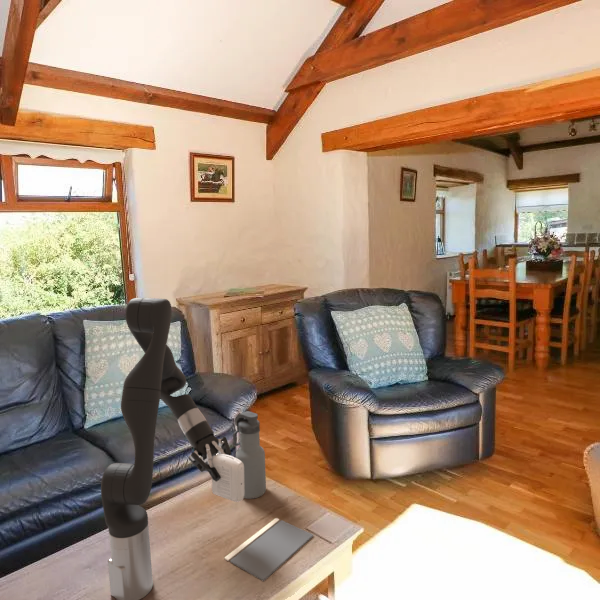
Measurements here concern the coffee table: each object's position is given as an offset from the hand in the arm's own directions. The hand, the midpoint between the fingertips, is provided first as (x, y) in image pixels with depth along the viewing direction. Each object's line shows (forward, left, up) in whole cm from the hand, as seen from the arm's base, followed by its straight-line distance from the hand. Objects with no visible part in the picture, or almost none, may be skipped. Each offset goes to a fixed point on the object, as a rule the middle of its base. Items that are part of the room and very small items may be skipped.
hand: (224, 475), depth 140 cm
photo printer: (0, -1, -6) cm, 6 cm away
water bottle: (+20, +9, -18) cm, 28 cm away
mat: (+2, -15, -18) cm, 23 cm away
